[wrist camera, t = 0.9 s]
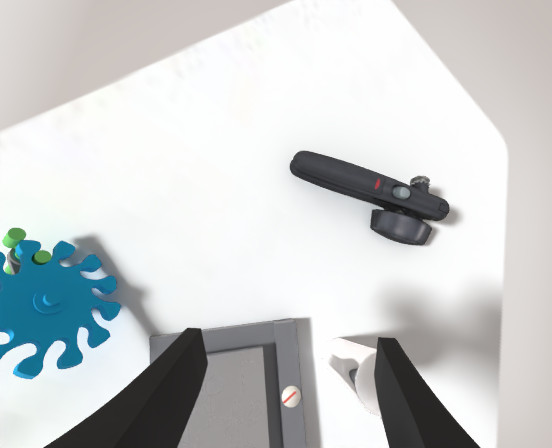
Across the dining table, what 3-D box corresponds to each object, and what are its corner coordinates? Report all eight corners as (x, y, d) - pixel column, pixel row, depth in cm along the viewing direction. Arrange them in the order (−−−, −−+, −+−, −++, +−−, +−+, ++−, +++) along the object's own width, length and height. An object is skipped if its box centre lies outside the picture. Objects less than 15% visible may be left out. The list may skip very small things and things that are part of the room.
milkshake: (312, 385, 29) (368, 442, 19) (318, 329, 30) (373, 356, 20) (354, 387, 30) (426, 443, 20) (358, 333, 31) (429, 361, 21)
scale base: (302, 460, 28) (308, 473, 26) (154, 499, 24) (150, 516, 23) (290, 318, 29) (296, 321, 28) (151, 336, 26) (147, 340, 24)
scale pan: (269, 462, 25) (270, 467, 25) (170, 488, 23) (169, 493, 22) (261, 346, 26) (262, 347, 26) (167, 360, 24) (166, 362, 24)
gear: (142, 333, 24) (-21, 410, 16) (108, 352, 27) (-47, 428, 19) (94, 218, 26) (-76, 230, 18) (67, 247, 29) (-92, 271, 20)
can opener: (426, 200, 36) (466, 187, 31) (412, 253, 34) (452, 250, 29) (297, 137, 33) (315, 111, 28) (275, 192, 31) (291, 176, 26)
